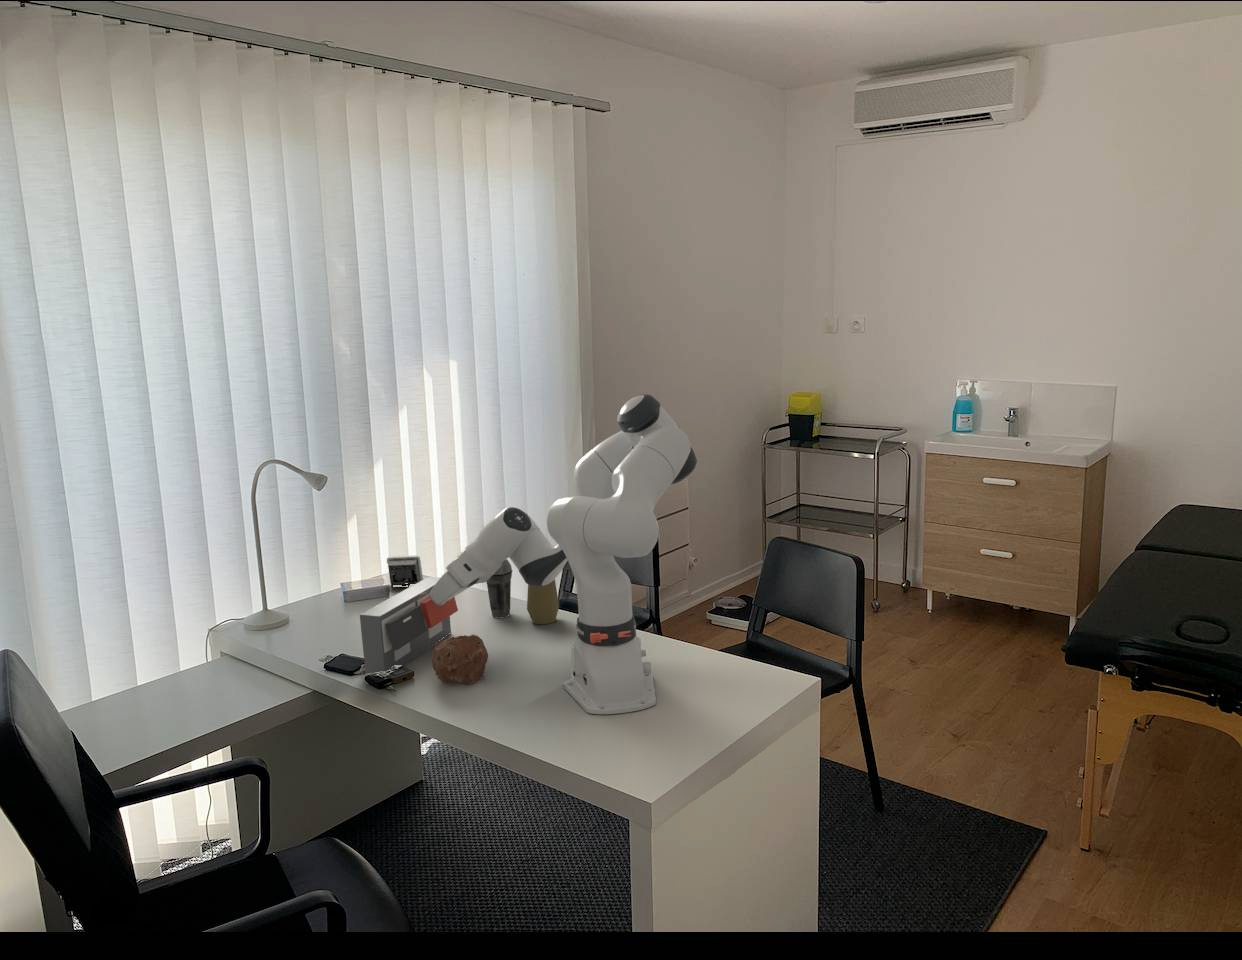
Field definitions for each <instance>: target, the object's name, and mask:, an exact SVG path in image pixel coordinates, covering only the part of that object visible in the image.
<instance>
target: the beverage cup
mask: <svg viewBox="0 0 1242 960" xmlns="http://www.w3.org/2000/svg"><path fill="white" fill-rule="evenodd" d="M512 568H513V567H512V565H511V563H510V561H509V560H508V558H507V559H505V560H504V561H503V562H502V565H501V566H500V568H499V569H498V570H497V571H496V572H495V573H494V574H493V575H492V576H491V577H490V578H489V580H488V581H487V582H486V587H487V594H488V601H489V606H490V611H491V616H493V618H494V617H498V618H497V619H501V618H500V617H505V618H507V617H506V616H508V615H509V614H510V613H511V612H510V611H511V595H512V594H511V591H512V590H511V587H512V584H511V583H512V581H511V580H512V577H513V576H512V575H513V569H512ZM510 615H511V614H510ZM510 615H509V616H510ZM509 616H508V617H509Z"/></svg>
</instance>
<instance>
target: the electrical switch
mask: <svg viewBox="0 0 1242 960" xmlns="http://www.w3.org/2000/svg"><path fill="white" fill-rule="evenodd" d="M421 563H422V561H421V557H420V556H419V555H418V554H417V555H416V554H415V555H398V556H397V555H395V556H388V557H387V559H386V564H387V569H388V573H389V582H390V583H389V584H390V585H391V588H392V586H393V585H402V584H403V585H405V583H408V585H409V584H416V583H418V582H420V581H422V580H424V576H423V570H422V569H423V568H422V564H421Z"/></svg>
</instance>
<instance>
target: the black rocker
mask: <svg viewBox="0 0 1242 960" xmlns="http://www.w3.org/2000/svg"><path fill="white" fill-rule="evenodd" d="M386 627H387V631H388V635H389V638H390V642H391V645H392V649H393V650H398V649H400V648H401V647H403V646H404V645H406V644H407V643H409V642H410V641H412V640H414V639H415V638H417V637H418V636H420V635H421V634H423V633H424V632H426V631H427V628H426V624H425V621H424V617H423V613H422V610H421V606H415V607H414V608H412V609H410V610H409V611H407V612H405V613H403V614H402V615H400V616H398V617H397V618H395V619H393V620H392V621H390V622H388V623H386Z"/></svg>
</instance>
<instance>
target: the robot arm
mask: <svg viewBox="0 0 1242 960" xmlns="http://www.w3.org/2000/svg"><path fill="white" fill-rule="evenodd" d="M616 417H617V418H616V420H617V424H618V426H619V428H620V431H618V432H616V433H614V434H612V435H611V436H609V437H607V438H605V439H604V440H602V441H601V442H600V443H598V444H597V445H595V446H594V447H593V448H592V449H590V450H589V451H587V452H586V453H585V454H584V455H583V456H582V457H581V458H580V459H579V460H578V461H577V462H576V464H575V467H574V470H573V486H574V489H575V493H576V495H574V496H566V497H561V498H558V499H557V500H556V501H555V502H554V503H552V505H551V506H550V508H549V511H548V513H547V517H546V518H547V519H546V526H547V532H548V533H549V536H550V537H551V539H552V540H553V541H554V542H556V545H555V546H554V545H553V544H552V543H551V542H550V540H548V538H547V537H546V535H545V534H544V533H543V531H542V530H541V528H540V527H539V525H537V523H536V522H535V520H534V519H533V518H532V517H531V516H530V515H529V514H528V513H526V512H525V511H523V510H522V509H520V508H518V507H513V506H510V507H506V508H504V509H503V510H501V511H500V512H499V513H498V514H496V515H495V516H493V518H492V519H490V520H489V521H488V522H487V523H486V524H485V525H484V527H483V528H481V529H480V531H479V533H478V535H477V537H476V538H474V539H473V540H471V541H470V542H469V543H468V544H467V545H466V547H465V548H464V549H463V550H462V551H460V553H459V554H458V555H457V557H456V558H454V559H453V560H452V561H451V562H450V563H449V564H448V565H446V567H445V569H446V571H445V572H444V573H443V574H442V575H441V576H440V577H439V578H440V579H439V580H438V582H437V583H436V584H435V586H434V587H433V588H432V590H431V591H430V593H429V597H430V598H431V600H432V601H433V602H434V603H435V604H436V605H437V606H440V605H444V604H445V603H447V602H448V601H450V600H451V599H452V598H453V597H455V598H456V596H458V595H460V594H461V593H463V592H464V591H466V590H467V589H469V588H471V587H472V586H474V585H478V584H484V583H487V581H488V580H489V578H490V577H491V576H492V575H493V574H494V573H495V572H496V571H497V570H498V569H499V568H500V566H501V565H502V562H503V561H504V560H505V559H507V560H508V559H510V560H511V562H512V563H513V565H514V566H515V568H516V569H517V570H518V572H519V574H520V575H521V577H522V579H523V581H524V582H525V584H527V585H528V584H529V585H532V586H538V587H544V586H546V585H548V584H549V583H551V582H552V581H553V580H554V579H555V580H556V578H557V577H558V576H559V574H560V573H561V572H562V571H563V570H564V568H566V566H567V564H568V563H569V566H570V569H571V571H572V572H571V573H572V575H573V578H574V582H575V588H576V595H577V598H576V599H577V609H578V617H577V618H576V632H577V633H576V634H577V637H578V638H577V639H576V641H575V643H574V644H572V646H571V647H570V668H571V669H570V676H571V677H570V678H568V679H565V680H564V681H563V689H565V691H566V692H567V693H568V694H569V695H570V696H571V697H572V698H573V699H574V700H575V701H576V703H578V704H579V706H580V707H581V708H582V709H583V710H584V711H585V712H586V713H588V714H590V715H591V714H593V715H615V714H625V713H631V712H637V711H641V710H645V709H649V708H652V707H653V706H655V705H657V698H656V692H655V683H654V676H653V672H652V665H651V664H652V663H651V661H643V657H644V658H645V657H647V651H646V649H642V641H641V640H642V639H641V638H640V637H638V636H637V632H636V631H637V629H636V628H637V623H636V620H635V616H634V614H633V598H632V581H631V579H630V577H629V576H628V574H627V573H626V572H625V571H624V570H623V569H622V568H621V567H620V566H619V564H618V563H617V562H616V559H615V557H617V558H623V559H626V558H641V557H644V556H645V557H646V556H647V555H648V554H649V553H650V552H651V551H652V550H654V548H655V546H656V544H657V542H658V539H659V533H660V528H659V527H660V526H659V523H658V519H657V517H656V515H655V513H654V511H655V507H656V505H657V503H658V502H659V500H660V499H661V497H663V495H664V493H665V492H666V491H667V490H668V488H669V487H670V486H671V485H675V484H678V483H680V482H682V481H683V480H685V479H686V478H688V477H689V476H690V474H692V473H693V472H694V470H695V468H696V467H697V463H698V459H697V457H696V454H695V451H694V449H693V447H692V446H691V442H690V439H689V437H688V435H687V434H686V433H685V431H683V430H682V429H681V428H680V427H678V424H677V423H676V422H675V420H674V419H673V418H672V417H671V415H670V414H669V413H668V412H667V411H666V410H665V409H664V408H663V407H662V406H661V403H660V402H659V401H658V400H657V399H656V398H655V397H654V396H653V395H651V394H645V393H643V394H640V395H637V396H635V397H632V398H630V399H629V400H627V401H626V402H625V403H624V405H623V406H622V407H621V409H620V410H618V413H617V416H616Z"/></svg>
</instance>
